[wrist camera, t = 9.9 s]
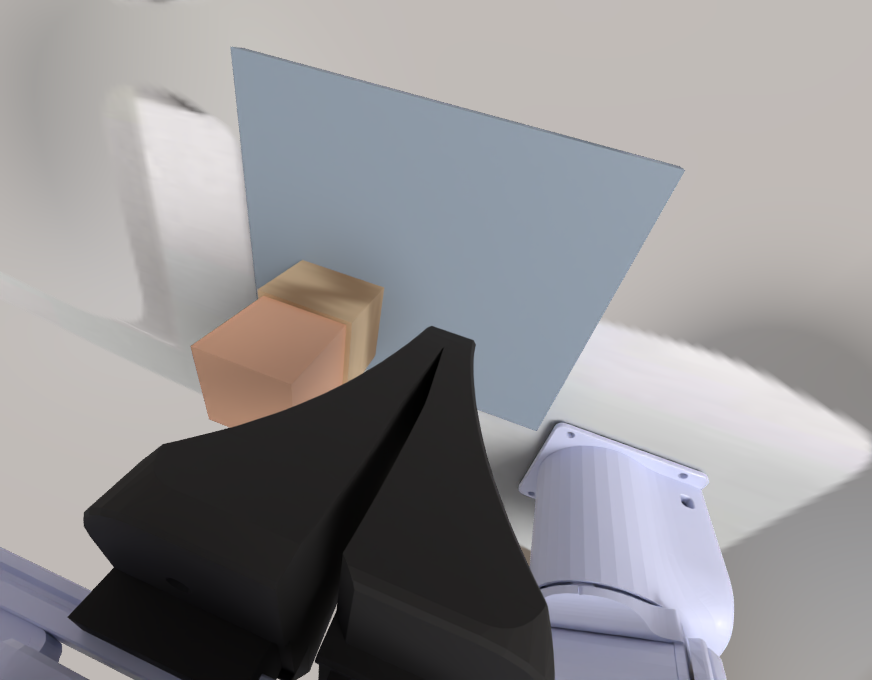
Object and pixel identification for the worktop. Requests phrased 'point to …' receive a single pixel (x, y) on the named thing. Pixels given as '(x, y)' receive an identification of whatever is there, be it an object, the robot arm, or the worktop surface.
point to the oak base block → (334, 307)
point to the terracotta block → (268, 361)
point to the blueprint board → (445, 218)
